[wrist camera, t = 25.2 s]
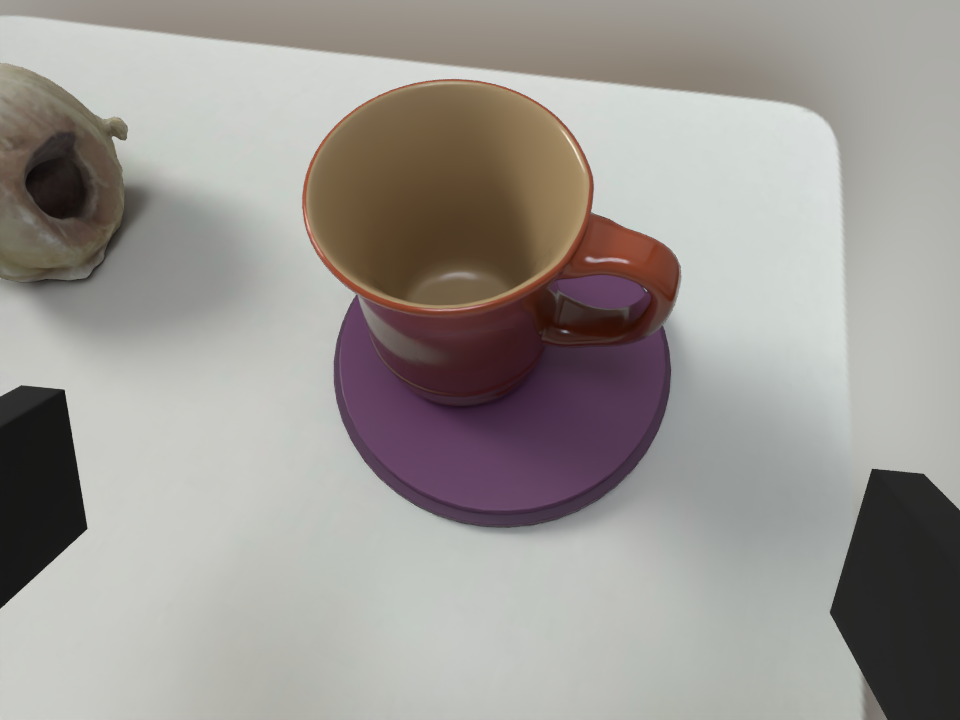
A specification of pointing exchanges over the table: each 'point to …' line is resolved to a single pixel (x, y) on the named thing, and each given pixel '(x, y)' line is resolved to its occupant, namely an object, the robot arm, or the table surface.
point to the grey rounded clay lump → (54, 180)
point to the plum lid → (511, 423)
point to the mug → (473, 237)
